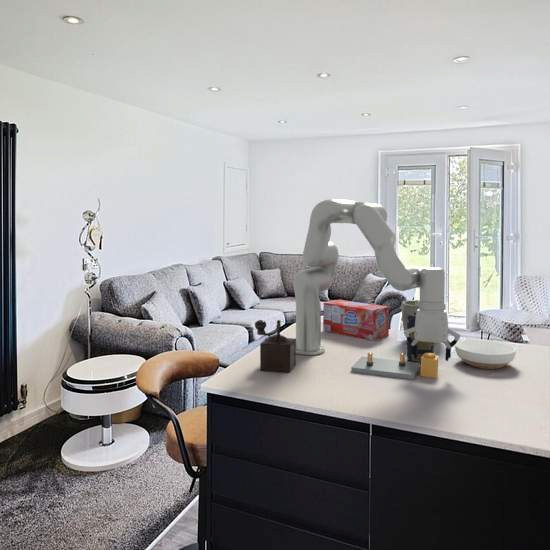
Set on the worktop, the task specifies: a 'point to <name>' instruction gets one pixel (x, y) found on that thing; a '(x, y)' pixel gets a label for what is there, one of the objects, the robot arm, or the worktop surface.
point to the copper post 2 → (402, 359)
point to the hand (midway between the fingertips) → (431, 358)
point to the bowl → (485, 353)
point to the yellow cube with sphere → (429, 365)
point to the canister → (422, 346)
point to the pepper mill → (276, 350)
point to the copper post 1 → (369, 360)
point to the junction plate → (386, 368)
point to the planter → (409, 310)
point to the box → (356, 319)
